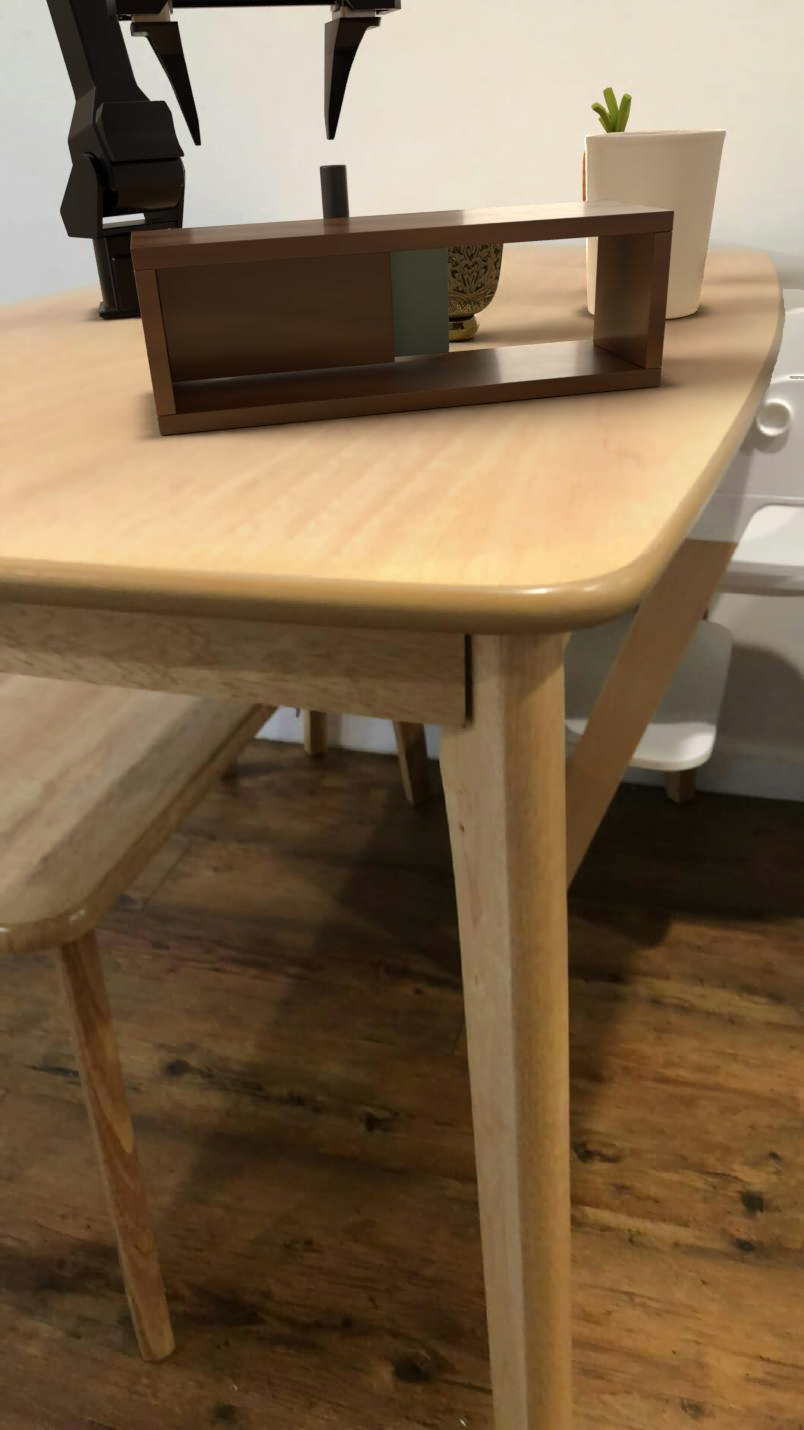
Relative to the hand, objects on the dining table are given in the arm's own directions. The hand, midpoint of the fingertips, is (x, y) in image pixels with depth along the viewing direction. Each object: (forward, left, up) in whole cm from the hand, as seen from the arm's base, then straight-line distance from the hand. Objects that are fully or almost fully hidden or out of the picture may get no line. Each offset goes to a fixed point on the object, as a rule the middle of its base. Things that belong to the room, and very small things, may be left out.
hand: (265, 142), depth 72 cm
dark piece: (+15, +2, -11) cm, 19 cm away
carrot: (-9, +29, -13) cm, 33 cm away
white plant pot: (+3, +27, -13) cm, 30 cm away
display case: (+22, +4, -13) cm, 26 cm away
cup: (+7, +11, -13) cm, 19 cm away
